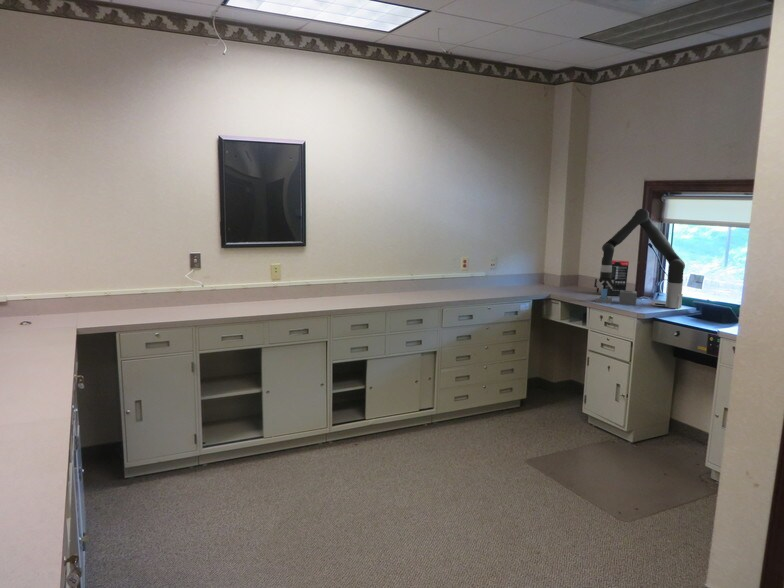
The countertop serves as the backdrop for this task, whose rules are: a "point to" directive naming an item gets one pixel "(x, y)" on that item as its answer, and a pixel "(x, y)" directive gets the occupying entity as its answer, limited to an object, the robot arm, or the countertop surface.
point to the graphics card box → (618, 277)
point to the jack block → (622, 298)
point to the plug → (603, 293)
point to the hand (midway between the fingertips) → (604, 293)
